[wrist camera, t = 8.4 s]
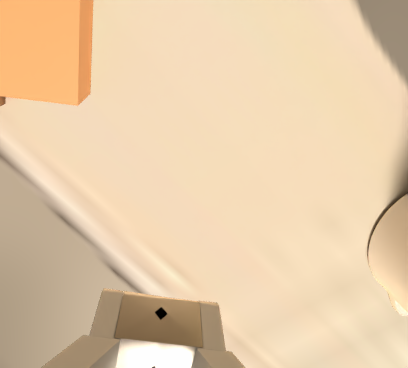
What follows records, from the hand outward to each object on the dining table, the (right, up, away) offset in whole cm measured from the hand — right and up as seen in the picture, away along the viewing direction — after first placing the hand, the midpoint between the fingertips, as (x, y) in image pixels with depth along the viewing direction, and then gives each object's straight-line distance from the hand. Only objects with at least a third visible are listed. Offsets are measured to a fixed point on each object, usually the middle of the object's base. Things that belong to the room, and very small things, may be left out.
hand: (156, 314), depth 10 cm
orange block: (-11, +15, +20) cm, 27 cm away
